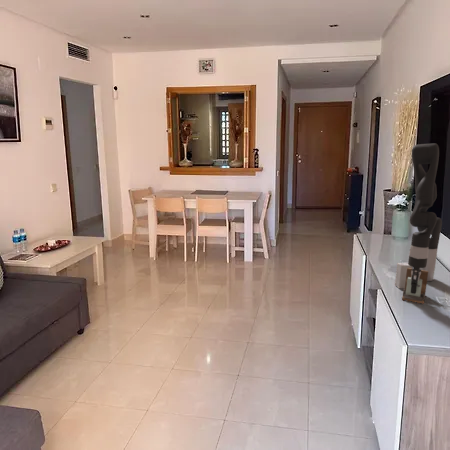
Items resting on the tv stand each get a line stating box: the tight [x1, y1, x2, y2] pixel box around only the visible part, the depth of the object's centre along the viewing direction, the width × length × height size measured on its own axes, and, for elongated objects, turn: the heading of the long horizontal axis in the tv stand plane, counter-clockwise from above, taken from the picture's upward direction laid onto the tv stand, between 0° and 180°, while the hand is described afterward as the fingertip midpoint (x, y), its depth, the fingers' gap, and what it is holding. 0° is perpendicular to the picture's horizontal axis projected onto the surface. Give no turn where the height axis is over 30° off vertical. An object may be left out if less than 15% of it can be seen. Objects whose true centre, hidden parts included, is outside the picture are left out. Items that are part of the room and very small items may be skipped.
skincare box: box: [394, 262, 414, 289], centre depth 201 cm, size 6×4×12 cm
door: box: [406, 277, 422, 297], centre depth 185 cm, size 3×6×9 cm, turn 62°
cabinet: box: [401, 268, 428, 305], centre depth 188 cm, size 12×9×12 cm
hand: (413, 292), depth 186 cm, fingers closed on door, 2 cm apart
